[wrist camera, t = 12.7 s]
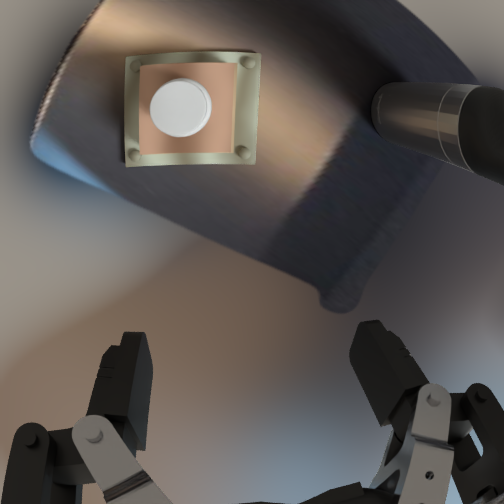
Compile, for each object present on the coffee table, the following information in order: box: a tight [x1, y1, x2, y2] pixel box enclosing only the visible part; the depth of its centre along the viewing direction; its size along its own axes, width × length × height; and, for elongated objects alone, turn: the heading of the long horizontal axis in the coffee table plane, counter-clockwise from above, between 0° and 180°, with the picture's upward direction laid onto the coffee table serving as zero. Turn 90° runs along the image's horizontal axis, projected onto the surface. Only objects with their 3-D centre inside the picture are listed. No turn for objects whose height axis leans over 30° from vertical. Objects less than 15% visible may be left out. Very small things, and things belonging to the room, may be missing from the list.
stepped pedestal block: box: [124, 52, 261, 167], centre depth 30 cm, size 16×14×8 cm
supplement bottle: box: [150, 78, 212, 137], centre depth 22 cm, size 5×5×8 cm
